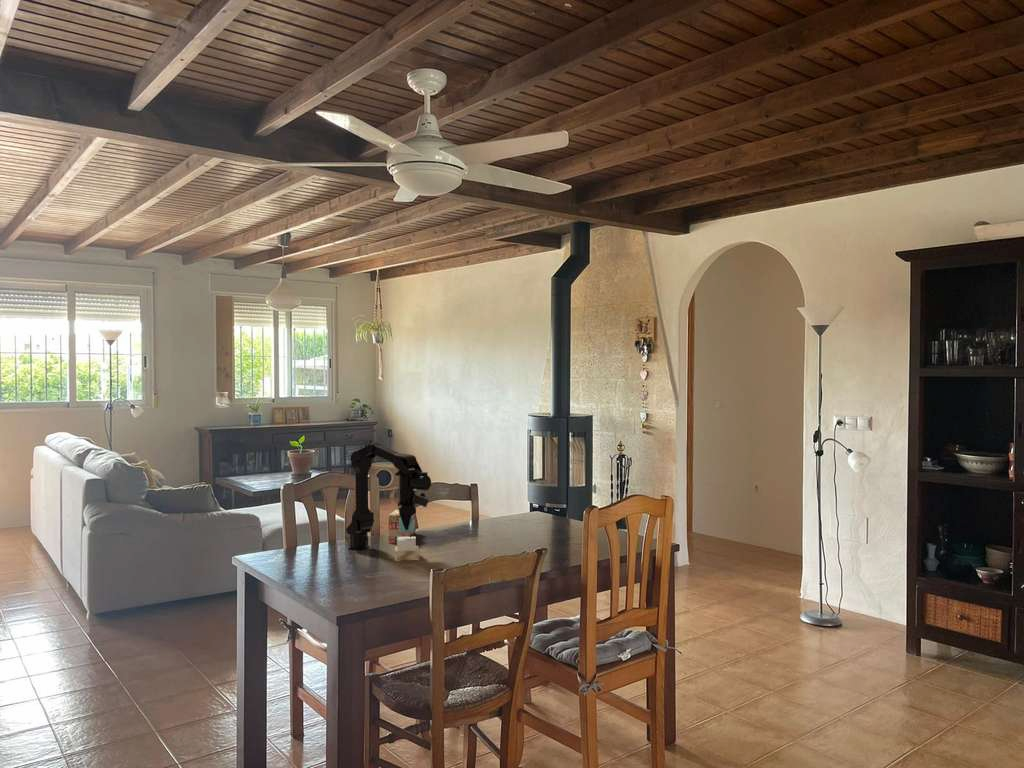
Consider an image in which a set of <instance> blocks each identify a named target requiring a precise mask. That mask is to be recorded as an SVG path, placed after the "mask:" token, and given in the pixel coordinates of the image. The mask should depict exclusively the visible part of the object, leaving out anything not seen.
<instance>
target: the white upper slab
mask: <svg viewBox="0 0 1024 768" xmlns="http://www.w3.org/2000/svg"><path fill="white" fill-rule="evenodd" d="M416 541H417V540H416V536H411V537H398V538H397V543H396V547H397V551H416V546H417V545H416V543H417V542H416Z"/></svg>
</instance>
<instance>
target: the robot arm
mask: <svg viewBox="0 0 1024 768" xmlns="http://www.w3.org/2000/svg"><path fill="white" fill-rule="evenodd" d="M376 457H379V458H381V459H383V460H385V461H388V462H389V463H391V464H392V465H393V466H394V467H395V468H396V469H397V472H396V473H395V474H394V476H397V477H398V499H397V505H396V506H397V507H398V508H397V510H399V514H400V517H401V519H402V522H403V525H404V528H405V530H408V528H409V524H410V519H411V516H412V515H414V516H415V514H417V507H416V506H415V505H416V504H417V505H418V506H419V505H420V506H422V507H424V508H427V505H428V503H429V501H430V499H429V498H428V497H426V494H425V493H424V492H420V493H419V494H418V493H416V492H415V490H419V491H428V490H430V488H431V485H432V479H431V477H430V476H429V475H428V472H426V471H423V470H422V468H421V466H420V464H419V463H418V460H417V457H416V456H415V455H413V454H409V453H401V452H399V451H395V450H393V449H391V448H388V447H386V446H384V445H382V444H381V443H379V442H373V443H369V444H367V445H366V446H364V447H362V448H360V449H358V450H357V451H353V452H352V453H351V454H350V464H351V468H352V470H353V471H354V474H355V509H354V512H353V513H352V516H351V522H350V523H349V525H348V526H347V528H346V529H345V530H346V534H348V535H349V541H350V542H349V547H347V549H348V550H354V551H355V550H356V551H357V550H359V551H363V550H365V549H368V548H369V547H370V545H369V535H368V533H371V531H372V527H373V525H374V523H375V520H374V517H375V514H374V511H371V510H370V508H369V471H370V469H371V467H372V466H373V460H374V459H376Z"/></svg>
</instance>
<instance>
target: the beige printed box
mask: <svg viewBox="0 0 1024 768" xmlns="http://www.w3.org/2000/svg"><path fill="white" fill-rule="evenodd" d="M411 517H413V518H414V522H413V532H399V518H400V514H399V510H398V509H395V510H394V511H392V512H391V513H389V514H388V543H389V542H390V543H389V544H397V538H398V537H410V536H411V535H412V534H413V533H414V532H415V527H416V526H415V525H416V524H415V523H416V522H415V514H414V515H412V516H411ZM414 534H415V533H414ZM414 534H413V535H414ZM413 535H412V536H413ZM412 536H411V537H412Z"/></svg>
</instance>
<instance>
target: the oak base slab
mask: <svg viewBox="0 0 1024 768" xmlns="http://www.w3.org/2000/svg"><path fill="white" fill-rule="evenodd" d="M394 559H395V562H402V561H401V560H418V561H420V548H419V546H418V545H416V551H397V546H394Z"/></svg>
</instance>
